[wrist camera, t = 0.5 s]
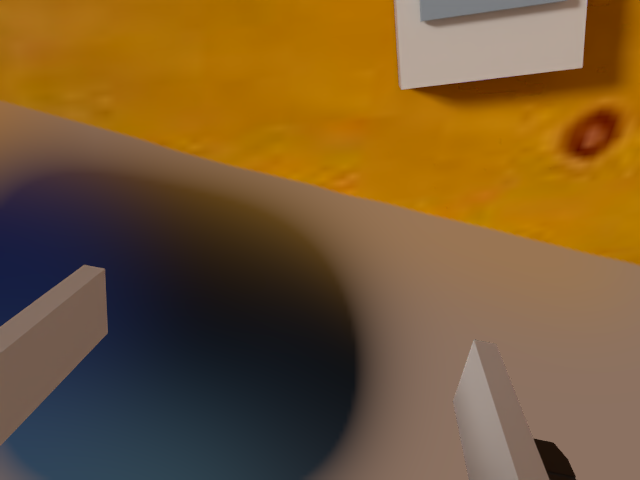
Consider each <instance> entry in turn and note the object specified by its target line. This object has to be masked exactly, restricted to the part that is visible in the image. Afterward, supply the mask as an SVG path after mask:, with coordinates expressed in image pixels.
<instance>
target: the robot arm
mask: <svg viewBox="0 0 640 480" xmlns="http://www.w3.org/2000/svg"><path fill="white" fill-rule="evenodd" d="M107 333H108V332H107V308H106V284H105V269H103V268H97V267H93V266H87V265H83V266H82V267H81V268H80V269H78V270H77V271H75V272H74V273H73V274H71V275H70V276H69V277H67V278H66V279H64V280H63V281H62V282H60V283H59V284H58V285H56V286H55V287H54V288H52V289H51V290H50V291H48V292H47V293H46V294H44V295H43V296H41V297H40V298H39V299H37V300H36V301H35V302H33V303H32V304H31V305H29V306H28V307H27V308H25V309H24V310H22V311H21V312H20V313H19V314H17V315H16V316H14V317H13V318H12V319H10V320H9V321H8V322H6V323H5V324H4V325H2V326H1V327H0V446H1V444H2V443H3V442H4V441H5V440H6V439H7V438H8V437H9V436H10V435H11V434H12V433H13V432H14V431H15V430H16V428H18V427H19V426H20V425H21V423H22V422H23V421H24V420H25V419H26V418H27V417H28V416H29V415H30V414H31V413H32V412H33V411H34V410H35V409H36V408H37V407H38V406H39V405H40V404H41V402H42V401H43V400H44V399H45V398H46V397H47V396H48V395H49V394H50V393H51V392H52V391H53V390H54V389H55V388H56V387H57V386H58V385H59V384H60V382H61V381H62V380H63V379H64V378H65V377H66V376H67V375H68V374H69V373H70V372H71V371H72V370H73V369H74V368H75V367H76V365H78V364H79V363H80V361H81V360H82V359H83V358H84V357H85V356H86V355H87V354H88V353H89V352H90V351H91V350H92V349H93V348H94V347H95V346H96V344H98V343H99V341H100V340H101V339H102V338H103V337H104V336H105V335H106V334H107ZM453 404H454V409H455V414H456V419H457V424H458V429H459V434H460V438H461V443H462V449H463V453H464V458H465V463H466V467H467V473H468V477H469V480H576V479H575V474H574V472H573V470H572V468H571V465H570V463H569V461H568V459H567V458H566V457H565V456H564V455H563V453H562V452H561V451H560V450H559V449H558V448H557V446H556V445H555V444H554V443H552V442H548V441H542V440H537V439H533V437H532V434H531V431H530V429H529V426H528V424H527V421H526V418H525V416H524V413H523V411H522V408H521V406H520V403H519V401H518V398H517V396H516V393H515V390H514V388H513V385H512V383H511V380H510V377H509V375H508V373H507V370H506V367H505V365H504V362H503V360H502V357H501V354H500V352H499V349H498V347H497V344H495V343H490V342H484V341H479V340H473V343H472V347H471V349H470V352H469V355H468V358H467V361H466V364H465V367H464V370H463V373H462V376H461V380H460V382H459V385H458V388H457V391H456V394H455V397H454V400H453Z"/></svg>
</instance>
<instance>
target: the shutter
mask: <svg viewBox="0 0 640 480" xmlns="http://www.w3.org/2000/svg"><path fill="white" fill-rule="evenodd" d="M563 1H567V0H420V22H423V21H430V20H437V19H444V18H451V17H458V16H465V15H472V14H479V13H486V12H493V11H500V10H507V9H514V8H521V7H528V6H535V5H542V4H549V3H556V2H563Z"/></svg>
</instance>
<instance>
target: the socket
mask: <svg viewBox="0 0 640 480" xmlns="http://www.w3.org/2000/svg"><path fill="white" fill-rule="evenodd" d="M394 12H395V28H396V45H397V61H398V77H399V86H400V88H401V90H403V89H411V88H419V87H427V86H436V85H444V84H452V83H461V82H469V81H477V80H485V79H494V78H502V77H510V76H519V75H527V74H535V73H543V72H552V71H560V70H568V69H577V68H582V67H583V54H584V40H585V26H586V13H587V0H567V1H563V2H556V3H549V4H542V5H535V6H528V7H521V8H514V9H507V10H500V11H493V12H486V13H479V14H472V15H465V16H458V17H451V18H444V19H437V20H430V21H423V22H420V0H394Z"/></svg>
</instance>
